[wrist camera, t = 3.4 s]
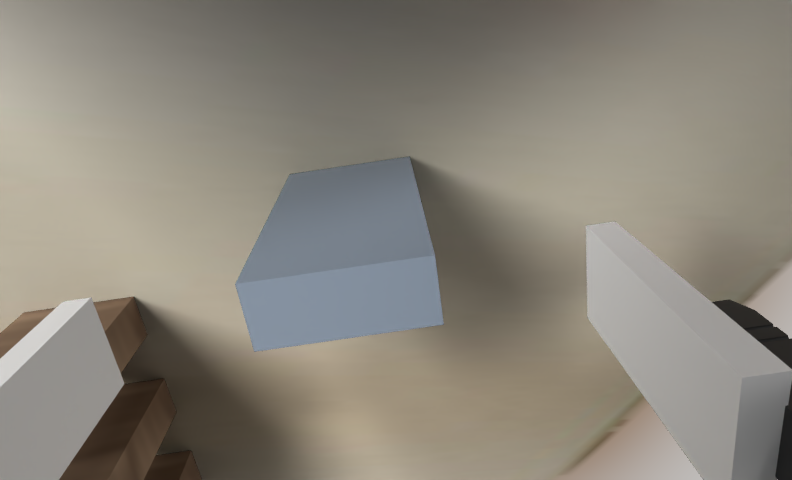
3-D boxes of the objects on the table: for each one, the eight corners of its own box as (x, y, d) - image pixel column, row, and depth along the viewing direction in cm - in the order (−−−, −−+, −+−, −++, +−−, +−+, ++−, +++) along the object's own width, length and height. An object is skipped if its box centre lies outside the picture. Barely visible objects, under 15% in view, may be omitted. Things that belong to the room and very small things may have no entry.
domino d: (24, 312, 25) (-180, 490, 16) (133, 296, 25) (-7, 466, 16) (40, 350, 26) (-143, 540, 17) (147, 334, 26) (22, 517, 16)
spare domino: (289, 174, 23) (235, 283, 14) (409, 156, 23) (434, 255, 14) (299, 219, 24) (254, 351, 15) (415, 201, 24) (443, 324, 15)
